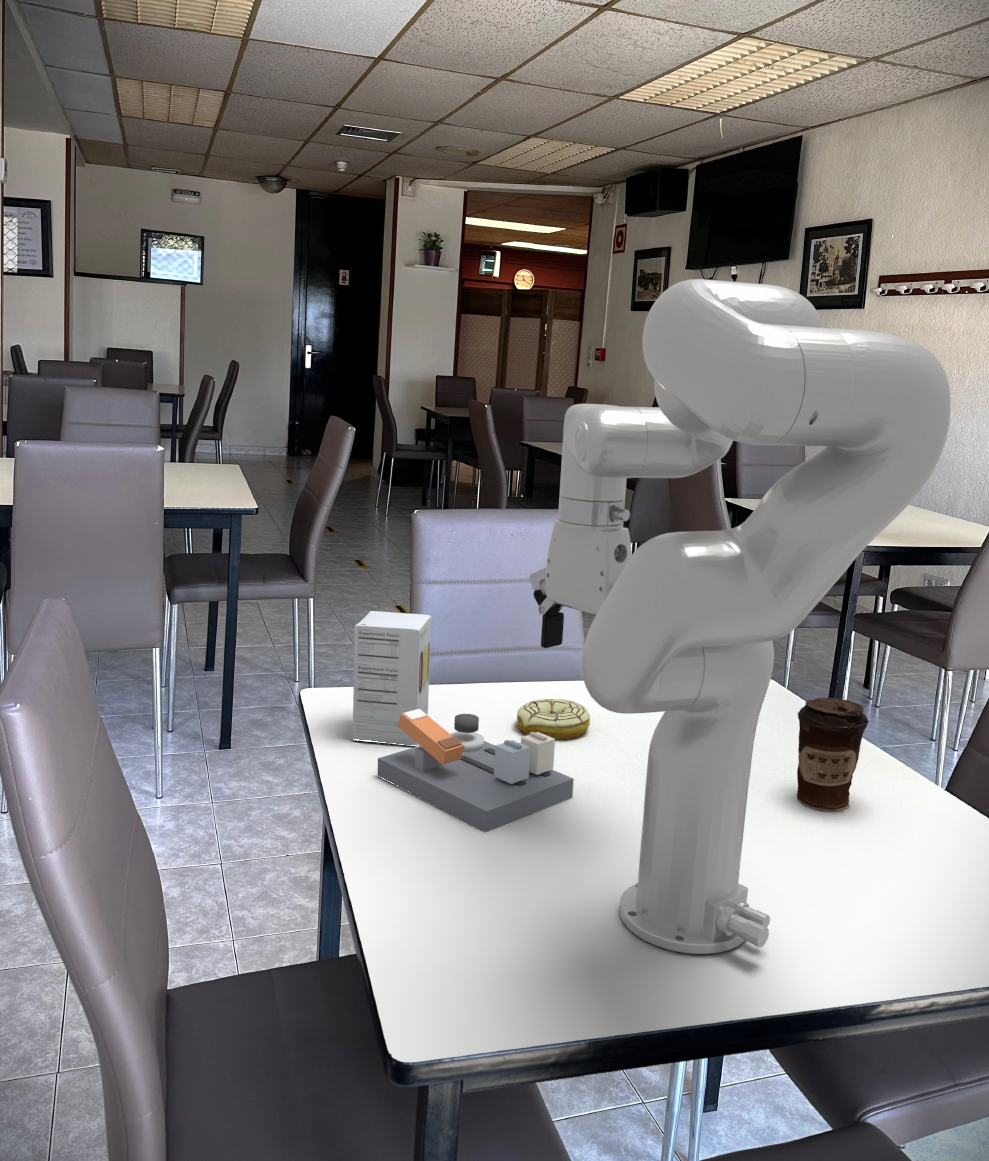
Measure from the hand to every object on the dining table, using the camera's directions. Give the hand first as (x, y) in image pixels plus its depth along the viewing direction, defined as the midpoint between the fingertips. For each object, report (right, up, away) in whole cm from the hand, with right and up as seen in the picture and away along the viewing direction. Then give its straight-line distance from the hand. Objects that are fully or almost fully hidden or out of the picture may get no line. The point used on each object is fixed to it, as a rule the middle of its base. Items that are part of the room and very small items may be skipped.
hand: (581, 655), depth 120 cm
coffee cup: (+31, -19, +8) cm, 38 cm away
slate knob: (-8, -15, +4) cm, 18 cm away
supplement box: (-25, -13, +25) cm, 38 cm away
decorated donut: (-2, -13, +30) cm, 32 cm away
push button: (-14, -11, +14) cm, 23 cm away
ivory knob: (-5, -15, +7) cm, 17 cm away
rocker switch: (-18, -10, +6) cm, 22 cm away
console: (-13, -17, +8) cm, 23 cm away
